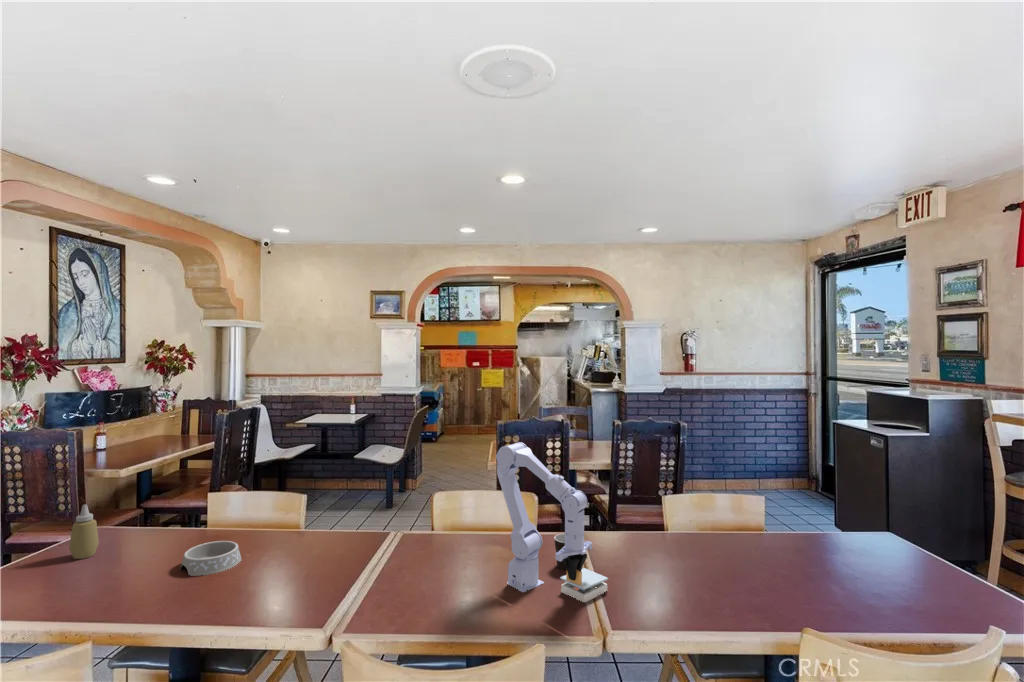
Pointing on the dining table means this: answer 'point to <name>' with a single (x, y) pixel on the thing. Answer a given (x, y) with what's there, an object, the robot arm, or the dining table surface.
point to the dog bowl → (211, 558)
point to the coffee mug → (558, 546)
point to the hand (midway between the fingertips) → (574, 578)
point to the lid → (585, 579)
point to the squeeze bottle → (84, 535)
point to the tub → (591, 593)
